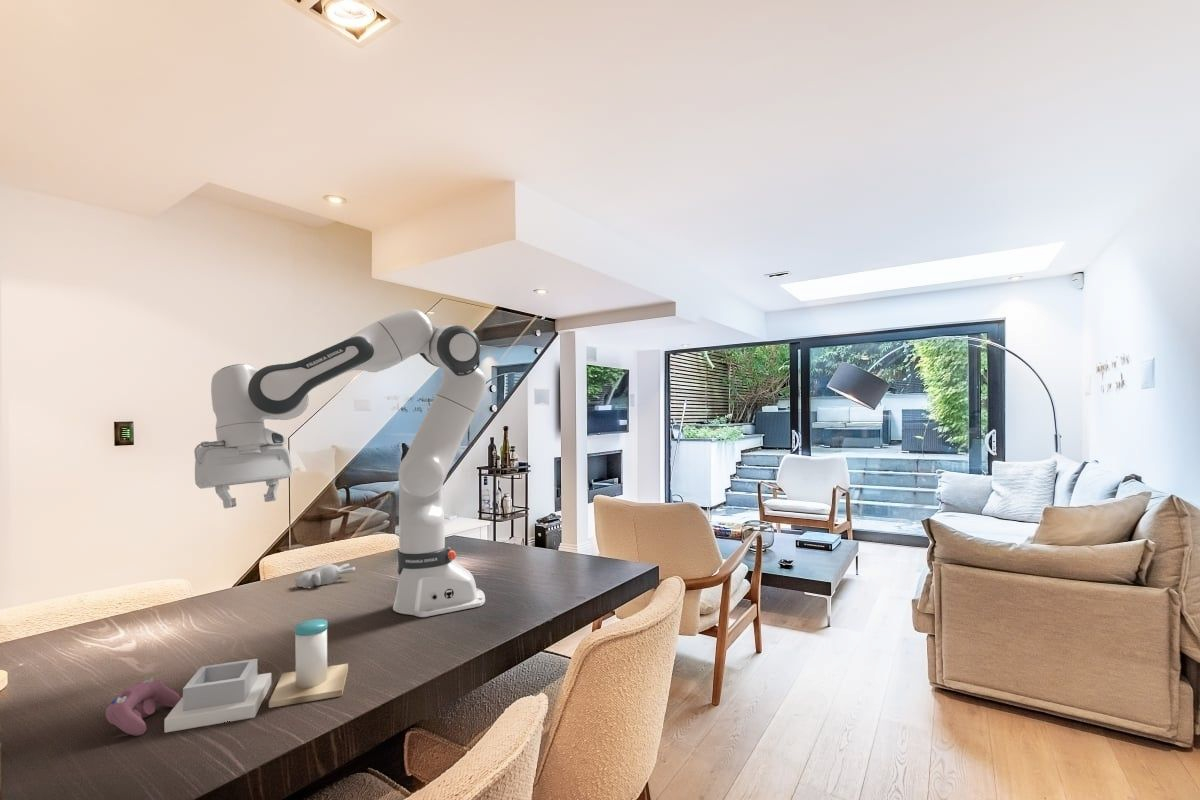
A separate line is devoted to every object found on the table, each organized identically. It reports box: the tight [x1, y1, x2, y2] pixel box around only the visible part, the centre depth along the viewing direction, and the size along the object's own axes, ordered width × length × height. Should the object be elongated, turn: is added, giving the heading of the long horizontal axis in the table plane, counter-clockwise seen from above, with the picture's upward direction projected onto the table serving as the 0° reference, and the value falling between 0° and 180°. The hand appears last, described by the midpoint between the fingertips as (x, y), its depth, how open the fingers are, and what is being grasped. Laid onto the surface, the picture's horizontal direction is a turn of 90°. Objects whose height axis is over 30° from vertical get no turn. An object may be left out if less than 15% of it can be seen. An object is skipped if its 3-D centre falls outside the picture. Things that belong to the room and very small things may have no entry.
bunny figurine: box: [294, 563, 357, 589], centre depth 163 cm, size 10×5×15 cm
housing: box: [163, 658, 272, 733], centre depth 93 cm, size 12×12×6 cm
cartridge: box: [294, 618, 329, 688], centre depth 100 cm, size 5×5×10 cm
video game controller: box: [105, 677, 182, 737], centre depth 89 cm, size 10×5×7 cm, turn 6°
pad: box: [268, 663, 349, 709], centre depth 99 cm, size 11×11×1 cm
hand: (251, 504), depth 119 cm, fingers open, 8 cm apart
